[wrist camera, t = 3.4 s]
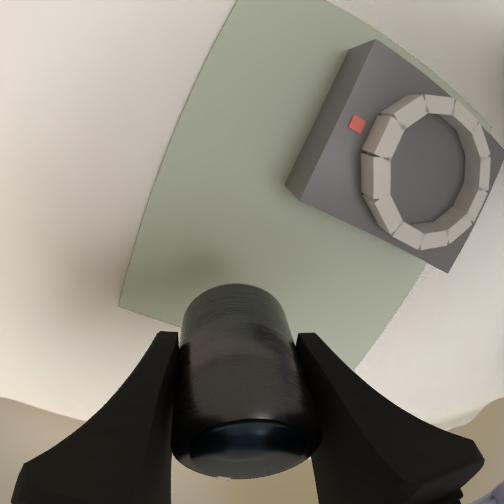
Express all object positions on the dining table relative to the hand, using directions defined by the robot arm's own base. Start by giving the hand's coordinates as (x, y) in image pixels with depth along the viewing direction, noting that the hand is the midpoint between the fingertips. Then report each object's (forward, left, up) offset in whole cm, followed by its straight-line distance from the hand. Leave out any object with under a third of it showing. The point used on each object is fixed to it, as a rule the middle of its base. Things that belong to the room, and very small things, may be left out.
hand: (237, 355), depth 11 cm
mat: (-3, -5, -8) cm, 10 cm away
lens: (0, 0, -2) cm, 2 cm away
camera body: (-6, -9, -7) cm, 13 cm away
